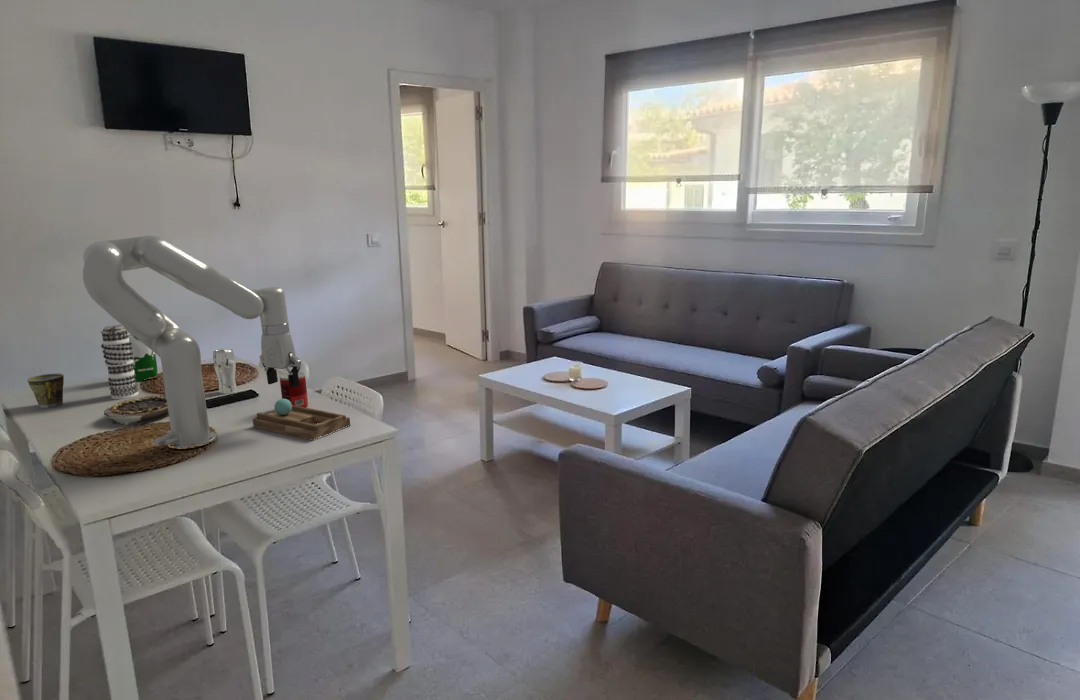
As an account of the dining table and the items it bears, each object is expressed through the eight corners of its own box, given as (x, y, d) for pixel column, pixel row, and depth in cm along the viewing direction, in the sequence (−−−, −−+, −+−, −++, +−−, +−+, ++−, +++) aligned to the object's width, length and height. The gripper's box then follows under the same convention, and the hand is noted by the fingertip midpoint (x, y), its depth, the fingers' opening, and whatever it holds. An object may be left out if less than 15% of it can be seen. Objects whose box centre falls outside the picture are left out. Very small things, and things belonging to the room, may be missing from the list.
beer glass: (219, 390, 244) (213, 349, 241) (240, 388, 246) (234, 347, 243) (216, 395, 238) (210, 353, 235) (237, 393, 240) (232, 352, 237)
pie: (208, 412, 220) (206, 397, 219) (120, 438, 199) (117, 422, 197) (164, 399, 236) (161, 385, 235) (77, 422, 214) (74, 407, 213)
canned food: (312, 404, 225) (308, 372, 222) (301, 411, 217) (298, 378, 215) (290, 403, 226) (286, 372, 223) (278, 411, 218) (275, 378, 215)
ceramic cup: (31, 405, 232) (25, 377, 229) (66, 399, 238) (61, 371, 236) (35, 413, 222) (29, 384, 220) (72, 407, 228) (66, 378, 226)
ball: (282, 418, 203) (280, 402, 202) (271, 415, 205) (269, 400, 204) (296, 413, 207) (294, 397, 206) (285, 411, 209) (283, 395, 208)
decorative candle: (119, 400, 234) (107, 329, 229) (104, 397, 239) (92, 327, 233) (145, 393, 242) (134, 325, 237) (130, 390, 247) (119, 323, 241)
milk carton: (135, 383, 257) (126, 331, 253) (130, 378, 264) (122, 328, 259) (160, 378, 263) (153, 328, 258) (155, 374, 269) (148, 325, 265)
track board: (313, 440, 190) (311, 428, 190) (253, 426, 203) (252, 415, 203) (350, 425, 202) (349, 413, 201) (291, 413, 215) (290, 402, 214)
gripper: (246, 330, 201) (254, 385, 205) (284, 334, 193) (292, 391, 197) (267, 325, 208) (275, 378, 212) (305, 328, 199) (313, 384, 203)
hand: (283, 384), depth 204 cm, fingers open, 9 cm apart
